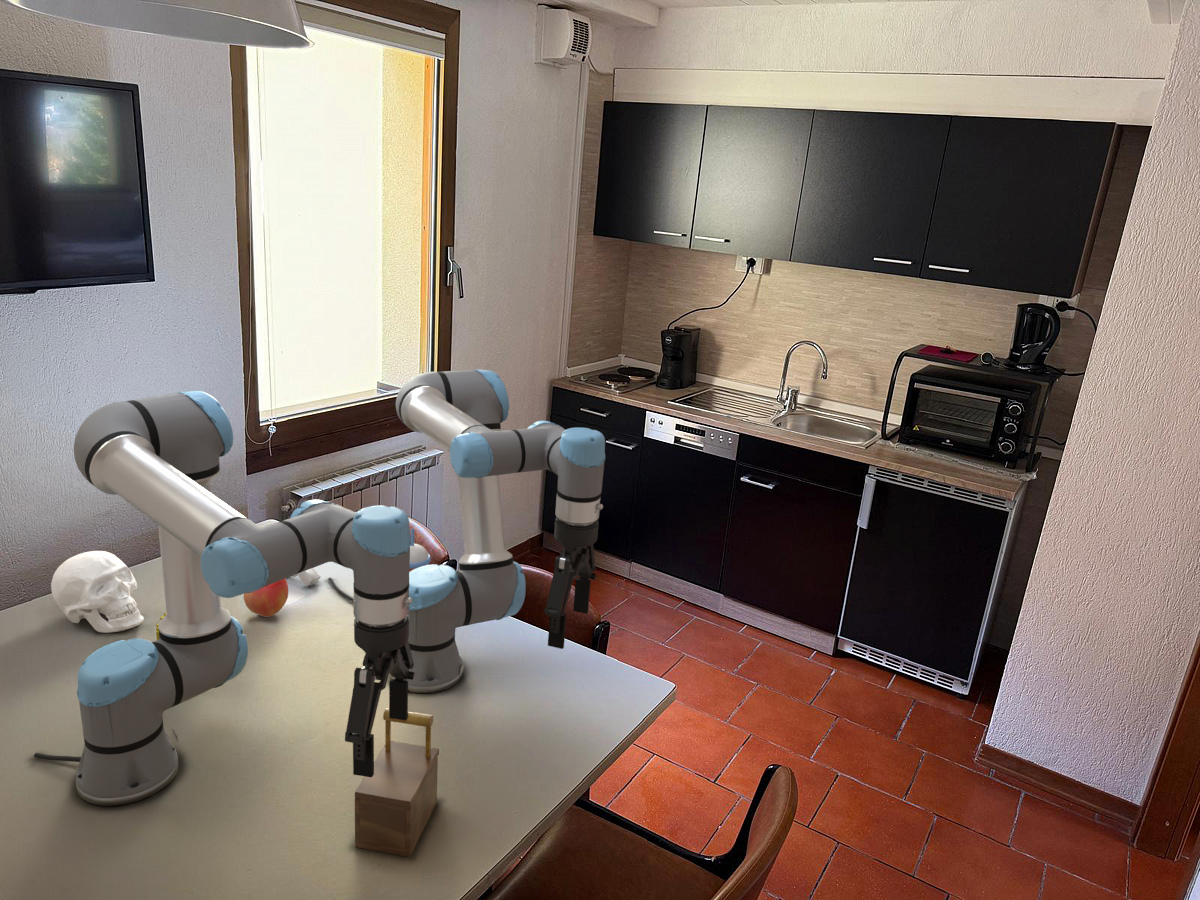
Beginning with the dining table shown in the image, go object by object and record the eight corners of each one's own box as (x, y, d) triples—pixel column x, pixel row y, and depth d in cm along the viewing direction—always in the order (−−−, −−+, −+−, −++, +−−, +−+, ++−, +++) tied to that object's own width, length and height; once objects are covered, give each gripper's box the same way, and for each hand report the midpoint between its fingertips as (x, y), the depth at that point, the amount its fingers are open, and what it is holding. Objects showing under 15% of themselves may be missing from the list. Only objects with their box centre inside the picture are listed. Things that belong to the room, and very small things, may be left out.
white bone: (253, 565, 223) (254, 542, 221) (265, 560, 226) (266, 537, 224) (309, 593, 215) (310, 569, 213) (320, 588, 218) (321, 564, 216)
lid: (387, 745, 144) (387, 699, 142) (439, 754, 143) (440, 708, 141) (354, 797, 132) (354, 748, 129) (410, 807, 131) (411, 758, 128)
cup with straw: (421, 606, 210) (422, 538, 205) (387, 600, 212) (387, 533, 206) (435, 590, 219) (437, 525, 213) (402, 584, 220) (403, 520, 215)
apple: (273, 600, 207) (272, 562, 204) (297, 613, 202) (296, 575, 199) (237, 614, 200) (234, 575, 197) (261, 628, 194) (259, 588, 191)
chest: (386, 793, 147) (386, 747, 144) (436, 802, 146) (438, 756, 143) (354, 847, 135) (354, 798, 132) (410, 857, 133) (410, 807, 131)
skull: (118, 643, 184) (114, 575, 180) (38, 622, 190) (32, 556, 185) (165, 617, 196) (162, 554, 192) (89, 598, 202) (84, 536, 198)
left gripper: (373, 665, 107) (373, 806, 114) (435, 580, 131) (433, 700, 137) (316, 657, 108) (319, 797, 114) (388, 574, 132) (388, 694, 138)
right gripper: (574, 549, 134) (565, 667, 140) (618, 499, 157) (608, 602, 163) (530, 540, 136) (523, 657, 142) (579, 492, 159) (571, 594, 165)
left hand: (382, 744), depth 126 cm, fingers open, 13 cm apart
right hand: (568, 628), depth 153 cm, fingers open, 13 cm apart
